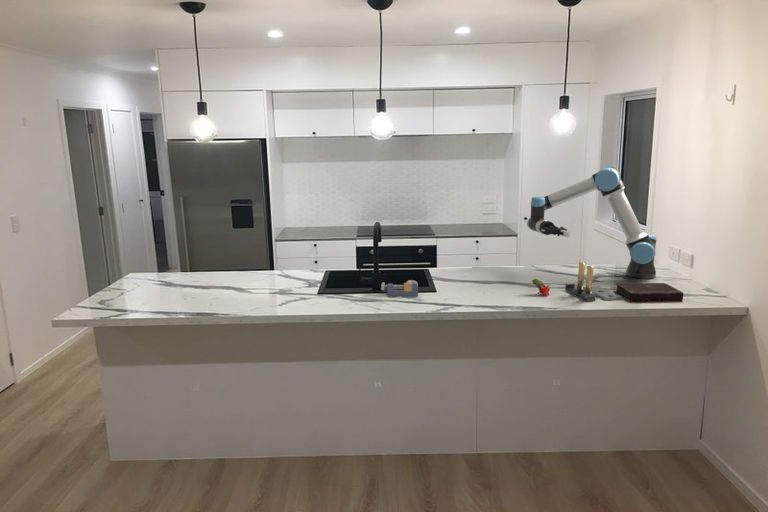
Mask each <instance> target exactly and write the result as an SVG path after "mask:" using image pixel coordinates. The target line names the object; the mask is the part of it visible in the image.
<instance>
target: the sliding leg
mask: <svg viewBox="0 0 768 512" xmlns="http://www.w3.org/2000/svg"><path fill="white" fill-rule="evenodd" d="M585 270H586V262H583V261H582V262H581V261H579V262H578V271H577V282H576V283H577V285H576V287H574V288H573V292H575V293H581V292H585V288H583V287H584V281H585Z"/></svg>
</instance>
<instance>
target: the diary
mask: <svg viewBox="0 0 768 512" xmlns="http://www.w3.org/2000/svg"><path fill="white" fill-rule="evenodd" d="M614 284H615V285H616V290H614V291H613V293H615V294H617V295H619V296H622V299H625V300H627V301H629V303H639V302H642V303H643V302H644V303H645V302H646V303H647V302H649V301H652V302H653V301H655V302H683V300H684V292H683V291H681V290H679V289H677V288H675V287H674V286H672V285H670V284H667V283H665V282H642V283H641V282H638V283H637V282H614Z"/></svg>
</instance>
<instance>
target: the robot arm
mask: <svg viewBox="0 0 768 512" xmlns="http://www.w3.org/2000/svg"><path fill="white" fill-rule="evenodd" d="M621 177H622V176H621V173H620V171H619V169H617V168H616V167H614V166H606V167H604V168H601V169H600V170H599V171H598V172H595V173H593V174H591V177H588V178H585V179H584V180H582V181H579V182H576V183H574V184H572V185H570V186H567V187H565V188H562V189H560V190H557V191H555V192H553V193H550V194H548V195H545V196H532V197H531V198H530V199H531V200H530V201H531V202H530V218H529V219H528V220H527V223H526V224H527V227H528V229H530V230H532V231H533V232H537V233H540V234H541V235H546V236H550V235H553V236H556V235H557V237H560V236H561V237H565V238H570V237H571V236H570V231H568V229H567V228H565V227H564V226H560V227H558V226H556V225H555V224H554V222H552V221H550V220H546V219H545V211H548V210H549V209H552V208H553V207H557V206H559V205H562V204H564V203H567V202H569V201H572V200H575V199H576V198H579V197H582V196H584V195H587V194H591V193H592V192H594V191H600V193H601V195H602V197H603V198H605V199H607V201H608V203H609V205H610V207H611V209H612V212H613V213H614V215H615V218H616V220H617V221H618V224H619V225H620V228H621V230H622V232H623V234H624V236H625V238H626V241H625V245H626V247H627V249H628V252H629V256H630V261H629V263H628V265H627V267H626V270H625V275H626V276H628V277H630V278H635V279H641V280H642V279H643V280H644V279H645V280H650V279H655V278H656V277H657V272H656V267H655V256H656V246H657V245H656V243H657V237H656V236H655V235H652V234H648V233H646V232H645V231H643V229H642V227H641V224H640V223H639V220H638V219H637V216H636V215H635V213H634V210H633V208H632V206H631V203H630V201H629V200H628V197H627V196H626V194H625V188H626V187H625V184H624V182H623V180H622V178H621Z"/></svg>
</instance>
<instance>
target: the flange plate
mask: <svg viewBox="0 0 768 512" xmlns="http://www.w3.org/2000/svg"><path fill="white" fill-rule="evenodd" d="M583 288H585V289H586V286H583ZM592 292H593V293H595V297H597V298H599V299H601V300H603V301H619V300H623V297H622V296H620V295H618V294H617V293H615V292H614V291H613V292H612V291H611V290H608V289H606V288H604V287H602V286H599V285H597V286H592Z"/></svg>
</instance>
